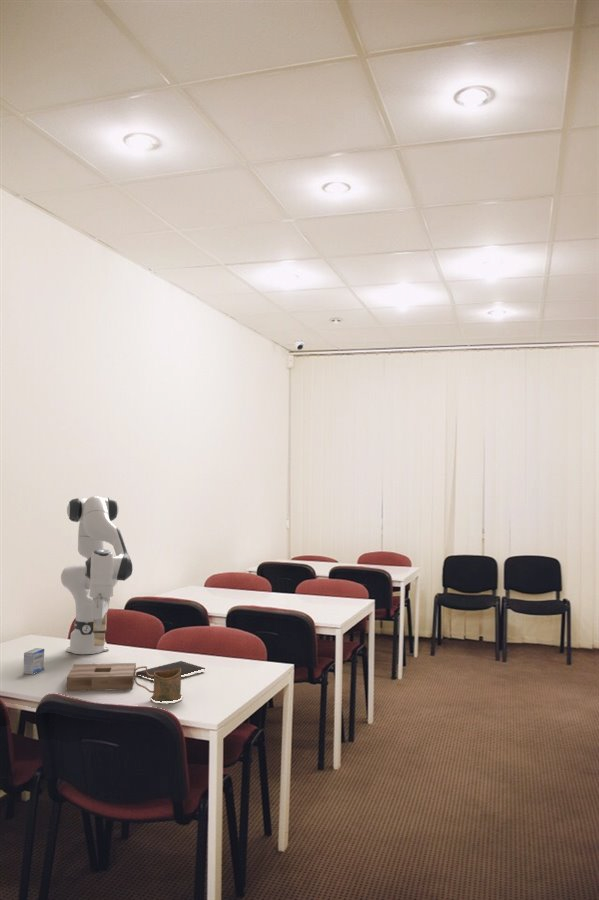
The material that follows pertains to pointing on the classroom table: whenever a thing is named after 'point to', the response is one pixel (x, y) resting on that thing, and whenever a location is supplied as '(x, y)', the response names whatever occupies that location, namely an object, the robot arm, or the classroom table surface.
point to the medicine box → (34, 661)
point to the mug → (165, 684)
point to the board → (101, 676)
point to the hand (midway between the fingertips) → (100, 627)
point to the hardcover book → (171, 668)
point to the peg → (100, 632)
